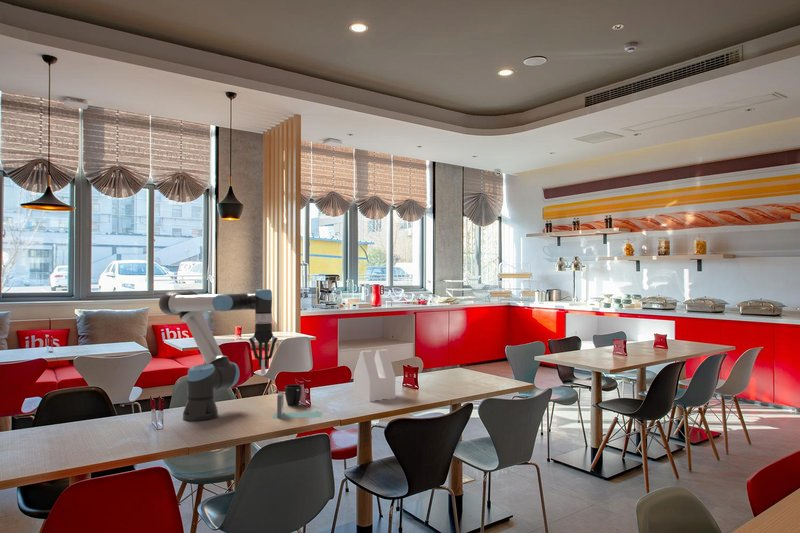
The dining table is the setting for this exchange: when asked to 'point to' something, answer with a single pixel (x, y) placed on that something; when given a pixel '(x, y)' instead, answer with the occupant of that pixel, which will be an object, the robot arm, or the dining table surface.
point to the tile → (280, 404)
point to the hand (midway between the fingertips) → (263, 374)
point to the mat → (300, 415)
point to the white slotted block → (374, 376)
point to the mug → (293, 394)
